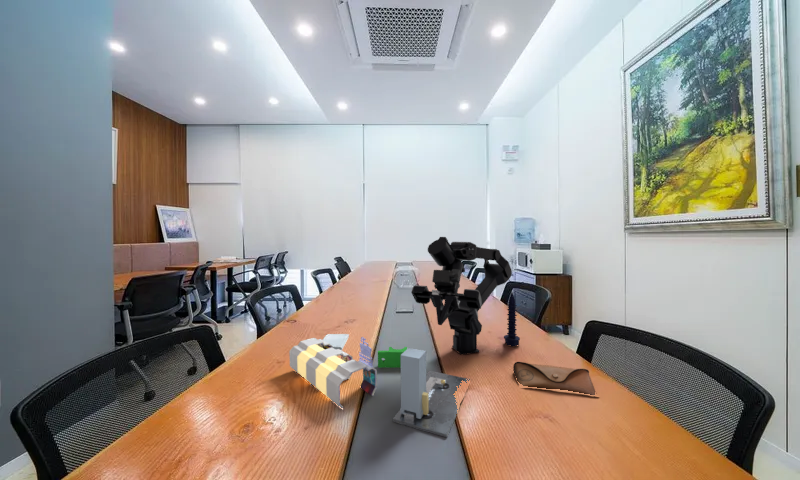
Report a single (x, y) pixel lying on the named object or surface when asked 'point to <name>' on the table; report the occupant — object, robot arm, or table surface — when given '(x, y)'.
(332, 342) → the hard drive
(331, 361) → the diorama
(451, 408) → the flange plate
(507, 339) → the screw
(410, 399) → the gray rectangular block
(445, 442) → the table surface
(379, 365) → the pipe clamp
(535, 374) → the sunglasses case
